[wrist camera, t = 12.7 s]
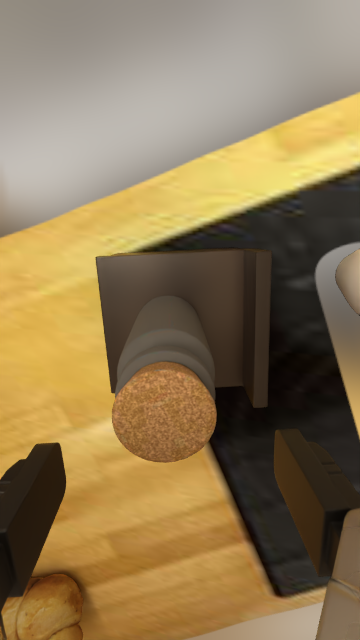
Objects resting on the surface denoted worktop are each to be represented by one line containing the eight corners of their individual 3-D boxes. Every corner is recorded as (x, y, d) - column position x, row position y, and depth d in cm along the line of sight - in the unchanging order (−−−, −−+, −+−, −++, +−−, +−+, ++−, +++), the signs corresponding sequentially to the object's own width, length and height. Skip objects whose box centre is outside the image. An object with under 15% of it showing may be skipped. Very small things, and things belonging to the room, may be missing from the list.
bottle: (142, 360, 29) (113, 482, 15) (130, 300, 28) (85, 369, 13) (203, 351, 29) (236, 464, 14) (195, 289, 27) (222, 348, 13)
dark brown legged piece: (119, 371, 35) (102, 416, 26) (107, 253, 31) (82, 260, 23) (243, 364, 35) (267, 407, 26) (243, 246, 32) (272, 250, 23)
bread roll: (6, 621, 44) (-28, 702, 37) (-13, 570, 42) (-55, 646, 34) (95, 610, 44) (79, 688, 37) (80, 558, 42) (60, 631, 34)
